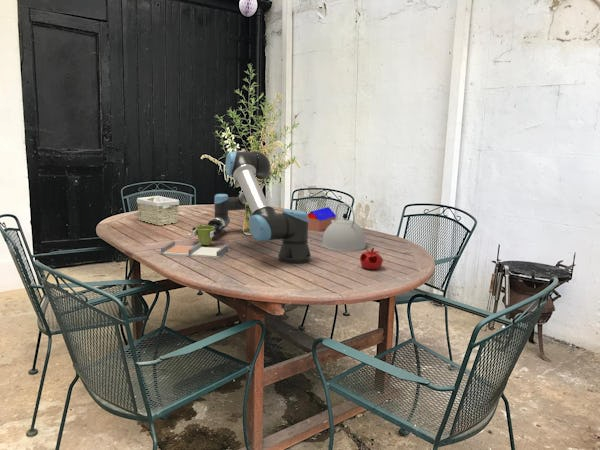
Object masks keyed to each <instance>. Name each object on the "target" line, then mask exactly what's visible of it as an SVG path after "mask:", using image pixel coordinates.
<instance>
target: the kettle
mask: <svg viewBox="0 0 600 450" xmlns="http://www.w3.org/2000/svg"><path fill="white" fill-rule="evenodd" d="M341 205H345V206H347V207H348V208H349V209H350V210H351V212H352V220H351V219H348V217H349V216H348V214H347V213H343V215H342V219H339V218H338V209H339V207H340V206H341ZM335 215H336V221H335V220H331V223H332V224H330V225H329V226H328V227H327V229H325V231H324V232H323V236H322V244H321V245H322V247H324V248H325V249H328V250H331V251H332V250H333V251H339V252H355V251H356V252H357V250H358V251H362V250H364V249H365V248H366V245H367V244H366V241H367V240H366V235H365V232H364V230H363V228H362V227H361V226H360V224H358V223H357V222H355V221H356V218H355V211H354V208H353V207H352V206H351V205H350V204H348V203H346V202H341V203H338V204H337V206H336V208H335ZM361 249H362V250H361Z"/></svg>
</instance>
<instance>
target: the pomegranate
mask: <svg viewBox="0 0 600 450" xmlns="http://www.w3.org/2000/svg"><path fill="white" fill-rule="evenodd" d="M374 250H375V247H371V249H370V250H368V249H367V250H365V251H364V252H363V253H361V255H360V257H359V262H360V265H361V267H362V268H364V269H365V268H366V270H371V269H376V270H379V269H380V268H381V267H382V265H383V262H384V259H383V257H382V256H381V255H380V254H379V253H380V250H376V251H374Z"/></svg>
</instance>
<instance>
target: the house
mask: <svg viewBox="0 0 600 450" xmlns="http://www.w3.org/2000/svg"><path fill="white" fill-rule="evenodd" d="M307 214H308V222H309V223H308V231H314V232H315V231H316V232H322V231H324V230H326V229H327V227H328V226H329V225H330V224H332V223H331V220H335V221H337V220H336V213H335V212H334V211H333V210H332V209H331V208H330V207H329V206H327V207H324V208H323V207H322V208H320V209H319V208H318V209H315V210H311V211H310V212H309V213H307Z"/></svg>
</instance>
